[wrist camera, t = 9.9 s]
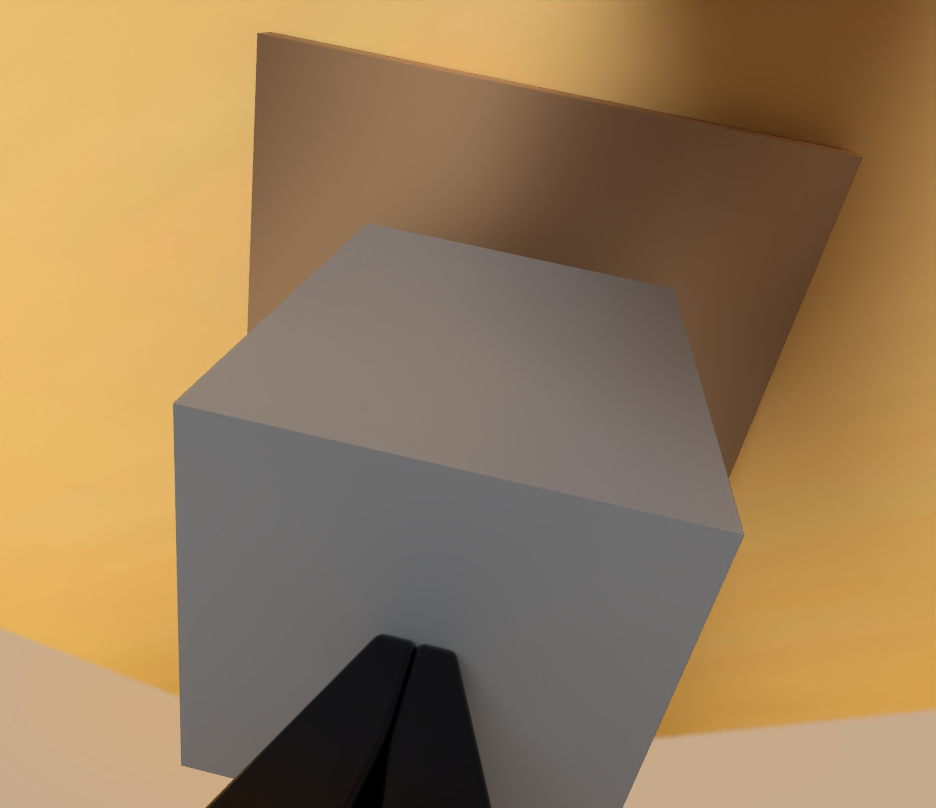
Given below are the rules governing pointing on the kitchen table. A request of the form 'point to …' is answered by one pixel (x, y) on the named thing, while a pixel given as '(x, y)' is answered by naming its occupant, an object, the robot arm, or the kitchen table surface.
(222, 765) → the grey rectangular block
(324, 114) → the brown flat panel
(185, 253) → the kitchen table surface
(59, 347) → the kitchen table surface
